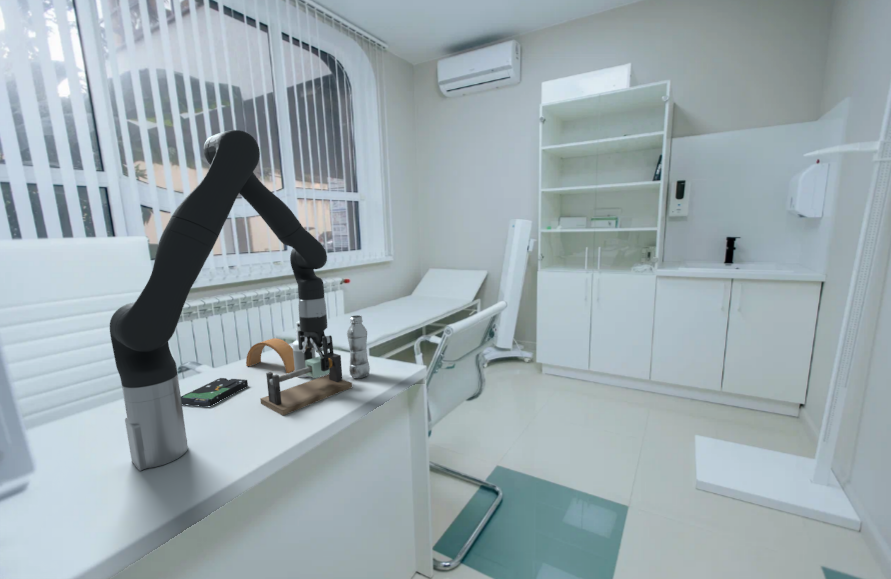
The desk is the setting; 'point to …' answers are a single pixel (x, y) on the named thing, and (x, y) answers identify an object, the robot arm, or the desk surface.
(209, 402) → the disk drive
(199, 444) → the desk surface
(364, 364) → the plastic bottle
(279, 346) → the arch
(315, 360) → the sleeve
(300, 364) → the spray bottle
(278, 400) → the rod stand
